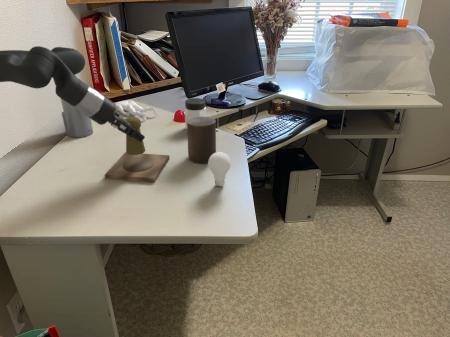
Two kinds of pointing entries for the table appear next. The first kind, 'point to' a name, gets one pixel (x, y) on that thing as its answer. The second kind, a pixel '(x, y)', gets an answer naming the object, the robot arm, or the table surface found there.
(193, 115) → the jar
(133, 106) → the superhero figure
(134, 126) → the cork
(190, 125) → the pillar candle
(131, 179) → the walnut board
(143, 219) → the table surface
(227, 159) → the light bulb
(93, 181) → the table surface
